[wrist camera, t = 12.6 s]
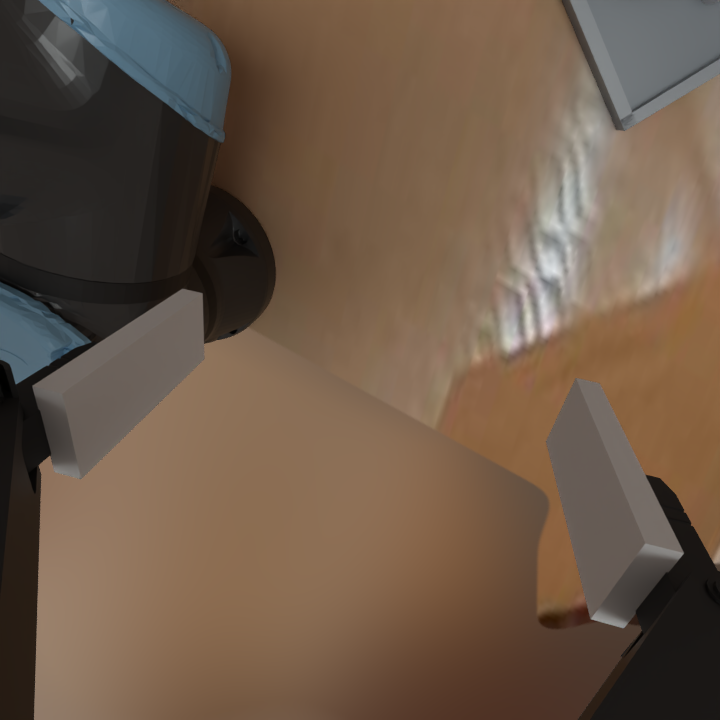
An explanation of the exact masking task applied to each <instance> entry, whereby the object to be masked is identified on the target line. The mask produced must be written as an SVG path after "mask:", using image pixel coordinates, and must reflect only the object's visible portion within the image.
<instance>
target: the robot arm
mask: <svg viewBox="0 0 720 720" xmlns="http://www.w3.org/2000/svg"><path fill="white" fill-rule="evenodd" d="M230 83H231V64H230V59H229V56H228V53H227V51H226V49H225V47H224V45H223V43H222V42H221V40H220V39H219V38H218V37H217V36H216V34H215V33H214V32H213V31H212V30H210V29H209V28H208V27H206V26H205V25H204V24H202V23H201V22H199V21H198V20H196V19H195V18H193V17H191V16H190V15H188V14H187V13H185V12H184V11H182V10H180V9H179V8H177V7H176V6H174V5H172V4H171V3H169V2H168V1H166V0H0V720H34V695H35V663H36V662H35V661H36V628H37V626H36V625H37V595H38V594H37V593H38V562H39V528H40V494H41V472H40V469H39V464H40V463H41V462H43V460H45V459H46V458H47V457H49V456H51V460H52V464H53V468H54V472H57V473H60V474H64V475H68V476H71V477H75V478H79V479H82V478H83V477H84V476H85V475H86V474H87V473H88V472H89V471H90V470H91V469H92V468H93V467H94V466H95V465H96V464H97V463H98V462H99V461H100V460H101V459H102V458H103V457H104V456H105V455H106V454H108V452H110V451H111V450H112V449H113V448H114V447H115V446H116V445H117V444H118V443H119V442H120V441H121V440H122V439H123V438H124V437H125V436H126V435H127V434H128V433H129V432H130V431H131V430H132V429H133V428H134V427H135V426H136V425H137V424H138V423H139V422H140V421H141V420H142V419H143V418H144V417H145V416H146V415H147V414H149V413H150V412H151V411H152V410H153V409H154V408H155V407H156V406H157V405H158V404H159V402H161V401H162V400H163V399H164V398H165V397H166V396H167V395H168V394H169V393H170V392H171V391H172V390H173V389H174V388H175V387H176V386H177V385H178V384H179V383H180V382H181V381H182V380H183V379H184V378H185V377H186V376H187V375H189V373H190V372H192V371H193V369H195V368H196V367H197V366H198V365H199V364H200V363H201V362H202V361H203V360H204V344H205V343H209V342H213V341H216V340H220V339H225V338H228V337H231V336H234V335H236V334H238V333H240V332H242V331H243V330H245V329H246V328H247V327H249V326H250V325H251V324H252V323H253V322H254V321H255V320H256V319H257V318H258V317H259V316H260V315H261V314H262V313H263V311H264V310H265V309H266V307H267V305H268V304H269V302H270V299H271V297H272V294H273V290H274V285H275V262H274V257H273V253H272V249H271V246H270V243H269V241H268V239H267V236H266V234H265V232H264V231H263V229H262V227H261V226H260V224H259V222H258V221H257V220H256V218H255V217H254V216H253V215H252V213H251V212H250V211H249V210H248V209H247V208H246V207H245V206H244V205H243V204H242V203H241V202H240V201H238V200H237V199H236V198H234V197H233V196H232V195H230V194H229V193H227V192H225V191H223V190H221V189H220V188H217V187H215V186H212V185H211V182H212V178H213V174H214V169H215V165H216V161H217V156H218V152H219V148H220V144H221V142H222V143H223V142H224V139H225V132H224V130H223V126H224V119H225V112H226V106H227V100H228V94H229V88H230ZM546 443H547V447H548V451H549V455H550V459H551V463H552V467H553V471H554V475H555V479H556V483H557V487H558V491H559V495H560V499H561V503H562V507H563V511H564V515H565V519H566V523H567V527H568V531H569V535H570V539H571V543H572V547H573V551H574V555H575V559H576V563H577V567H578V571H579V575H580V579H581V583H582V587H583V591H584V595H585V599H586V603H587V607H588V611H589V615H590V619H592V620H596V621H599V622H603V623H607V624H610V625H614V626H618V627H621V628H624V627H625V626H626V625H627V624H628V623H629V621H630V620H631V619H632V618H633V616H634V615H635V614H637V617H638V620H639V623H640V626H641V629H642V631H641V633H640V634H639V635H638V636H637V637H636V639H635V640H634V641H633V642H632V643H631V644H630V645H629V647H628V648H627V649H626V650H625V651H624V653H623V654H622V655H621V656H622V658H621V660H620V661H619V662H618V664H617V665H616V666H615V668H614V669H613V671H612V672H611V674H610V675H609V676H608V678H607V679H606V681H605V682H604V683H603V685H602V686H601V688H600V689H599V691H598V692H597V693H596V695H595V696H594V697H593V699H592V700H591V702H590V703H589V704H588V706H587V707H586V709H585V710H584V711H583V713H582V714H581V716H580V717H579V719H578V720H720V572H719V571H717V569H716V567H715V565H714V563H713V561H712V560H711V558H710V556H709V554H708V552H707V551H706V549H705V547H704V545H703V543H702V541H701V540H700V538H699V536H698V534H697V532H696V531H695V529H694V527H693V526H691V521H690V520H689V518H688V516H687V514H686V513H684V509H683V507H682V505H681V503H680V502H679V500H678V498H677V496H676V494H675V493H674V492H673V491H672V490H671V489H670V488H669V487H668V486H667V485H666V484H665V483H664V482H663V481H662V480H661V479H660V478H657V477H653V476H649V475H645V474H644V472H643V470H642V468H641V466H640V464H639V462H638V460H637V458H636V456H635V454H634V452H633V450H632V448H631V446H630V444H629V442H628V440H627V438H626V436H625V433H624V431H623V429H622V427H621V425H620V423H619V421H618V419H617V417H616V415H615V413H614V411H613V409H612V407H611V405H610V403H609V401H608V399H607V397H606V395H605V393H604V391H603V389H602V387H601V385H600V383H596V382H591V381H587V380H583V379H578V378H576V379H575V381H574V383H573V385H572V387H571V389H570V392H569V394H568V396H567V398H566V400H565V402H564V404H563V406H562V409H561V411H560V413H559V415H558V417H557V419H556V421H555V424H554V426H553V428H552V430H551V432H550V434H549V436H548V438H547V441H546Z"/></svg>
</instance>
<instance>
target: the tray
mask: <svg viewBox="0 0 720 720" xmlns="http://www.w3.org/2000/svg"><path fill="white" fill-rule="evenodd" d="M562 2H563V5H564V7H565V9H566V12H567V14H568V16H569V19H570V21H571V23H572V26H573V28H574V31H575V33H576V35H577V38H578V40H579V42H580V45H581V47H582V49H583V52H584V54H585V57H586V59H587V61H588V64H589V66H590V68H591V71H592V73H593V75H594V78H595V80H596V82H597V85H598V87H599V90H600V92H601V94H602V97H603V99H604V101H605V104H606V106H607V108H608V111H609V113H610V115H611V118H612V120H613V123H614V125H615V127H616V130H622V131H625V130H627V129H629V128H630V127H632V126H634V125H635V124H637V123H639V122H640V121H642V120H644V119H645V118H647V117H649V116H650V115H652V114H654V113H655V112H657V111H659V110H660V109H662V108H664V107H665V106H667V105H669V104H670V103H672V102H674V101H675V100H677V99H679V98H680V97H682V96H684V95H685V94H687V93H689V92H690V91H692V90H693V89H695V88H697V87H698V86H700V85H702V84H703V83H705V82H707V81H708V80H710V79H712V78H713V77H715V76H717V75H718V74H720V0H562Z"/></svg>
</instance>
